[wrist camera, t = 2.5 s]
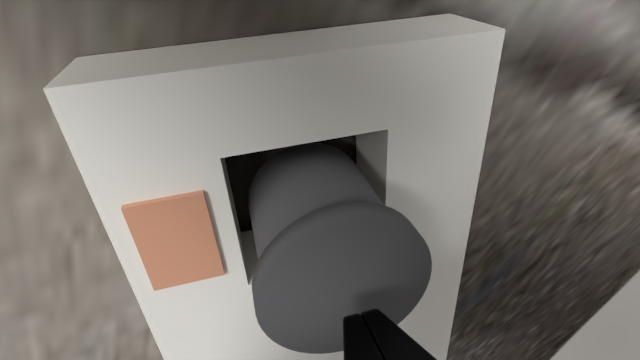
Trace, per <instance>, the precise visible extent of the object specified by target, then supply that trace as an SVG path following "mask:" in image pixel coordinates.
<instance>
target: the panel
mask: <svg viewBox="0 0 640 360" xmlns="http://www.w3.org/2000/svg"><path fill="white" fill-rule="evenodd" d="M505 30H506V29H504V28H500V27H497V26H493V25H490V24H486V23H482V22H479V21H475V20H472V19H468V18H464V17H461V16H457V15H454V14H450V13H449V14H441V15H432V16H424V17H415V18H407V19H398V20H390V21H381V22H373V23H364V24H356V25H347V26H339V27H330V28H322V29H313V30H305V31H296V32H287V33H279V34H270V35H262V36H253V37H245V38H236V39H228V40H219V41H211V42H202V43H194V44H185V45H177V46H168V47H160V48H151V49H143V50H134V51H126V52H117V53H109V54H100V55H92V56H83V57H77V58H76V59H74V60H73V61H72V62H71V63H70V64H69V65H68V66H67V67H66V68H65V69H64V70H63V71H62V72H61V73H59V74H58V75H57V76H56V77H55V78H54V79H53V80H52V81H51V82H50V83H49V84H48V85H47V86H46V87H44V88H43V90H44V92H45V94H46V97H47V99H48V101H49V103H50V106H51V108H52V110H53V112H54V115H55V117H56V119H57V121H58V124H59V126H60V128H61V130H62V133H63V135H64V137H65V139H66V141H67V144H68V146H69V148H70V150H71V153H72V155H73V157H74V159H75V162H76V164H77V166H78V168H79V171H80V173H81V175H82V177H83V180H84V182H85V184H86V186H87V188H88V191H89V193H90V195H91V197H92V200H93V202H94V204H95V206H96V209H97V211H98V213H99V215H100V218H101V220H102V222H103V224H104V227H105V229H106V231H107V233H108V236H109V238H110V240H111V242H112V244H113V247H114V249H115V251H116V253H117V256H118V258H119V260H120V262H121V265H122V267H123V269H124V271H125V274H126V276H127V278H128V280H129V283H130V285H131V287H132V289H133V292H134V294H135V296H136V298H137V300H138V303H139V305H140V307H141V309H142V312H143V314H144V316H145V318H146V321H147V323H148V325H149V327H150V330H151V332H152V334H153V336H154V339H155V341H156V343H157V345H158V347H159V350H160V352H161V354H162V356H163V359H164V360H344V353H343V351H340V352H334V353H324V354H309V353H302V352H297V351H293V350H289V349H287V348H284V347H282V346H280V345H278V344H277V343H275V342H274V341H272V340H271V339H270V338H269V337H268V336H267V335H266V334H265V333H264V332H263V331H262V329H261V327H260V325H259V324H258V321H257V318H256V314H255V308H254V301H253V294H252V278H253V274H254V269H255V267H256V264H257V262H258V256H257V250H256V245H255V240H254V234H253V230H249V231H245V232H241V231H240V227H239V222H238V217H237V213H236V208H235V203H234V199H233V194H232V190H231V185H230V180H229V176H228V171H227V166H226V162H225V157H230V156H236V155H242V154H248V153H253V152H259V151H265V150H271V149H277V148H282V147H288V146H294V145H300V144H306V143H311V142H317V141H323V140H329V139H335V138H340V137H346V136H352V135H356V166H357V167H358V168H359V170H360V171H361V173H362V174H363V175H364V177H365V178H366V180H367V181H368V183H369V184H370V185H371V187H372V188H373V190H374V191H375V192H376V194H377V195H378V197H379V198H380V199H381V201H382V202H383V204H384V205H385V206H388V207H390V208H393V209H395V210H396V211H398V212H400V213H401V214H403V215H404V216H405V217H406V218H407V219H408V220H409V221H410V222H411V223H412V224H413V226H414V227H415V228H416V230H417V231H418V232H419V233H420V235H421V236H422V237H423V239H424V240H425V242H426V244H427V245H428V247H429V250H430V254H431V259H432V272H431V277H430V281H429V283H428V286H427V289H426V291H425V293H424V295H423V297H422V298H421V300H420V301H419V303H418V304H417V305H416V307H415V308H414V309H413V310H412V312H411V313H410V314H409V315H408V316H407V317H406V318H405V319H404V320H402V321H401V322H400V323H399V324H398V326H399V327H400V328H401V329H402V330H403V331H404V332H406V333H407V334H408V335H409V336H410V337H411V338H413V339H414V340H415V341H416V342H417V343H418V344H420V345H421V346H422V347H423V348H424V349H425V350H426V351H428V352H429V353H430V354H431V355H432V356H433V357H435V358H436V359H437V360H446V357H447V352H448V346H449V341H450V335H451V330H452V324H453V318H454V313H455V307H456V302H457V296H458V291H459V285H460V280H461V274H462V269H463V263H464V257H465V252H466V246H467V241H468V235H469V230H470V224H471V219H472V213H473V207H474V202H475V196H476V191H477V185H478V180H479V174H480V169H481V163H482V157H483V152H484V146H485V141H486V135H487V130H488V124H489V119H490V113H491V108H492V102H493V96H494V91H495V85H496V80H497V74H498V69H499V63H500V58H501V52H502V46H503V41H504V35H505Z"/></svg>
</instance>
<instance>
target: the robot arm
mask: <svg viewBox="0 0 640 360" xmlns="http://www.w3.org/2000/svg"><path fill="white" fill-rule="evenodd" d="M343 353H344V360H437V359H436V358H435V357H433V356H432V355H431V354H430V353H429V352H428V351H426V350H425V349H424V348H423V347H422V346H421V345H420V344H418V343H417V342H416V341H415V340H414V339H413V338H411V337H410V336H409V335H408V334H407V333H406V332H404V331H403V330H402V329H401V328H400V327H399V326H398V325H396V324H395V323H394V322H393V321H392V320H391V319H389V318H388V317H387V316H386V315H385V314H384V313H383V312H381V311H380V310H379V309H371V310H367V311H363V312H361V314H359V313H356V314H352V315H348V316H345V317H343Z"/></svg>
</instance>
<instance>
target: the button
mask: <svg viewBox="0 0 640 360" xmlns="http://www.w3.org/2000/svg"><path fill="white" fill-rule="evenodd" d="M248 208H249V213H250V218H251V224H252V229H253V234H254V240H255V245H256V250H257V256H258V262H257V264H256V267H255V269H254V274H253V278H252V294H253V301H254V308H255V314H256V318H257V321H258V324H259V325H260V327H261V329H262V331H263V332H264V333H265V334H266V335H267V336H268V337H269V338H270V339H271V340H272V341H274V342H275V343H277V344H278V345H280V346H282V347H284V348H287V349H289V350H293V351H297V352H302V353H309V354H324V353H334V352H340V351H343V317H345V316H348V315H352V314H356V313H359V314H361V312H363V311H367V310H371V309H379V310H380V311H381V312H383V313H384V314H385V315H386V316H387V317H388V318H389V319H391V320H392V321H393V322H394V323H395V324H396V325H398V324H399V323H400V322H401V321H402V320H404V319H405V318H406V317H407V316H408V315H409V314H410V313H411V312H412V310H413V309H414V308H415V307H416V305H417V304H418V303H419V301H420V300H421V298H422V297H423V295H424V293H425V291H426V289H427V286H428V283H429V281H430V277H431V272H432V259H431V254H430V250H429V247H428V245H427V244H426V242H425V240H424V239H423V237H422V236H421V235H420V233H419V232H418V231H417V230H416V228H415V227H414V226H413V224H412V223H411V222H410V221H409V220H408V219H407V218H406V217H405V216H404V215H403V214H401V213H400V212H398V211H396V210H395V209H393V208H390V207H388V206H385V205H384V204H383V202H382V201H381V199H380V198H379V197H378V195H377V194H376V192H375V191H374V190H373V188H372V187H371V185H370V184H369V183H368V181H367V180H366V178H365V177H364V175H363V174H362V173H361V171H360V170H359V168H358V167H357V166H356V164H355V163H354V161H353V160H352V159H351V158H350V157H349V156H348V155H347V154H346V153H344V152H343V151H341V150H339V149H337V148H335V147H333V146H329V145H326V144H319V143H306V144H300V145H295V146H292V147H289V148H286V149H284V150H282V151H280V152H278V153H277V154H275V155H274V156H272V157H271V158H270V159H268V160H267V161H266V162H265V163H264V164H263V165H262V166H261V167H260V168H259V170H258V171H257V173H256V174H255V176H254V178H253V180H252V182H251V185H250V187H249V192H248Z"/></svg>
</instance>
